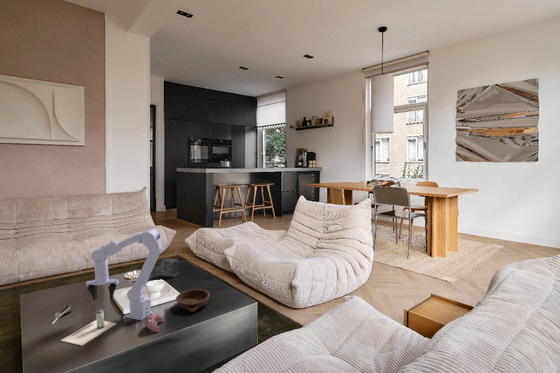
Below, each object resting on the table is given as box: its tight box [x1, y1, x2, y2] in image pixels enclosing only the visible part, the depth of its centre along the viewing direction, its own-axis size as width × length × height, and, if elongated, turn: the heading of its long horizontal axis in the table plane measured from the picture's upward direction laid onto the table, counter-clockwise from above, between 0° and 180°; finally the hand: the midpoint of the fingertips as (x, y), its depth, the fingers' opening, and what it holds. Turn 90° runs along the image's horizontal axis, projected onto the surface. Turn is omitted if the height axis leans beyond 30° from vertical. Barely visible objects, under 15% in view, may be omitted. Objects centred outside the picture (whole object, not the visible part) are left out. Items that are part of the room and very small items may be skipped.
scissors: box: [51, 305, 73, 325], centre depth 161 cm, size 8×21×2 cm, turn 10°
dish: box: [175, 288, 211, 313], centre depth 169 cm, size 17×22×5 cm
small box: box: [159, 257, 180, 279], centre depth 211 cm, size 11×6×10 cm, turn 66°
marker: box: [95, 309, 105, 329], centre depth 146 cm, size 3×3×8 cm
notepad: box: [60, 319, 117, 347], centre depth 144 cm, size 12×18×1 cm, turn 162°
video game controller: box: [145, 312, 165, 333], centre depth 147 cm, size 10×5×7 cm, turn 6°
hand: (103, 298), depth 156 cm, fingers open, 7 cm apart
